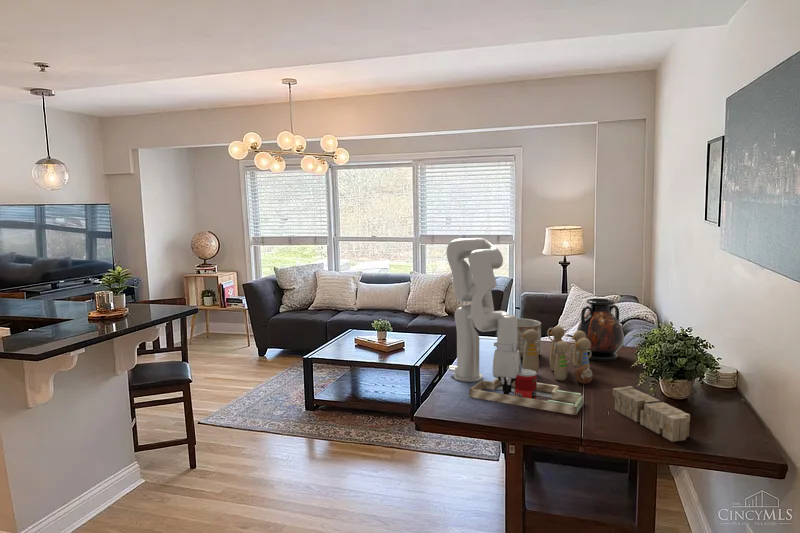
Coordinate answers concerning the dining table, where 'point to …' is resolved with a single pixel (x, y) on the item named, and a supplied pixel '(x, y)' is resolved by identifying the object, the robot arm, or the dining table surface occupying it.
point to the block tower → (652, 413)
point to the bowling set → (560, 354)
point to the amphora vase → (602, 329)
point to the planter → (522, 328)
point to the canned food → (526, 383)
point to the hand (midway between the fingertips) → (506, 393)
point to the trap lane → (542, 391)
